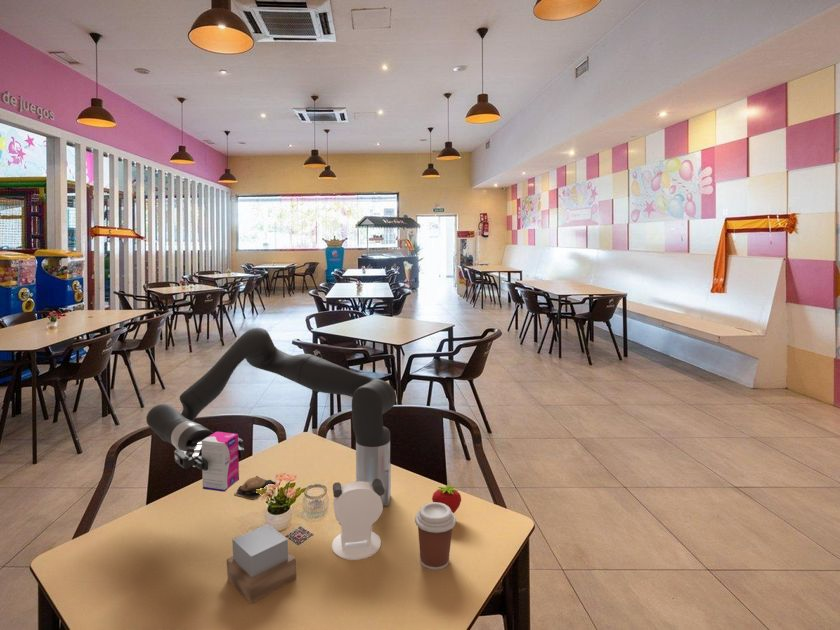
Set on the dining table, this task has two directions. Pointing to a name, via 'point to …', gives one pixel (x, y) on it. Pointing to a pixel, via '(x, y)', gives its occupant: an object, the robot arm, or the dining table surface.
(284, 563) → the walnut base block
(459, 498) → the strawberry
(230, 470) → the supplement box
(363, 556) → the panda figurine
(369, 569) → the dining table surface
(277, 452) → the dining table surface
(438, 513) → the coffee cup
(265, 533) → the grey top block
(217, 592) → the dining table surface
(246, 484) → the brown flat rounded lump
